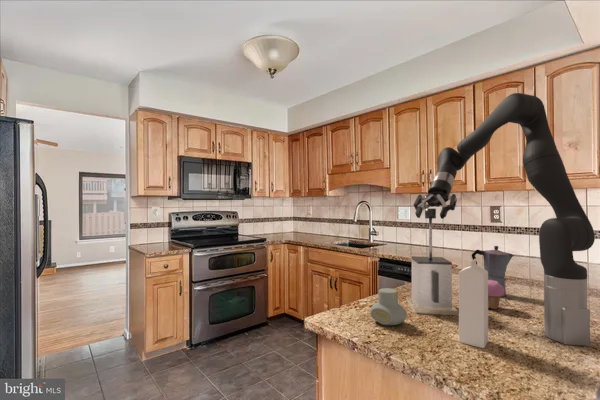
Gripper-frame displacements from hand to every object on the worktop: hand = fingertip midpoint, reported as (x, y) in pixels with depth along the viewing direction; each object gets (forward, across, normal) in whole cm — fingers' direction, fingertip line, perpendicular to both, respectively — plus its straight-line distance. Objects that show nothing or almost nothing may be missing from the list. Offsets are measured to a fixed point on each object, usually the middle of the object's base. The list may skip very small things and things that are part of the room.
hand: (429, 216), depth 114 cm
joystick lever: (+14, 0, +16) cm, 22 cm away
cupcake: (+12, +15, +34) cm, 39 cm away
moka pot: (-3, +11, +49) cm, 50 cm away
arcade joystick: (+22, 0, +24) cm, 33 cm away
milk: (+37, +20, +10) cm, 43 cm away
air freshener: (+39, -4, +7) cm, 40 cm away
